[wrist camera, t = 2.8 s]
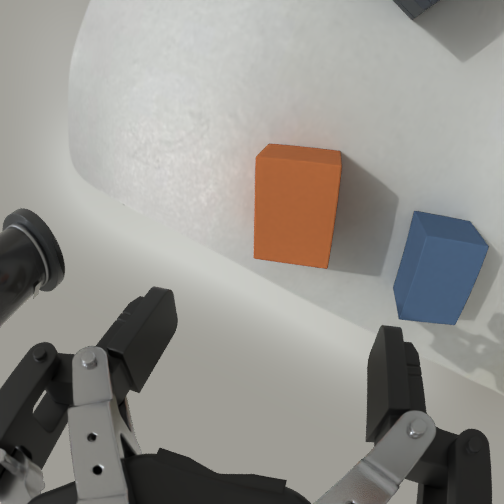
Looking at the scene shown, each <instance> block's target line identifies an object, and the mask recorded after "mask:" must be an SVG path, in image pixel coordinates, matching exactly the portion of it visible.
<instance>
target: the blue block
mask: <svg viewBox="0 0 504 504" xmlns="http://www.w3.org/2000/svg"><path fill="white" fill-rule="evenodd" d="M488 248H489V246H488V245H487V244H486V242H485V241H484V239H483V238H482V237H481V235H480V234H479V233H478V231H477V230H476V229H475V227H474V226H473V225H472V223H471V222H470V221H465V220H461V219H456V218H451V217H445V216H440V215H435V214H430V213H424V212H419V211H414V214H413V218H412V222H411V226H410V230H409V234H408V238H407V242H406V246H405V249H404V253H403V256H402V260H401V263H400V267H399V270H398V274H397V277H396V280H395V283H394V287H393V289H394V294H395V300H396V305H397V311H398V317H399V319H401V320H410V321H419V322H429V323H439V324H449V325H455V324H456V322H457V320H458V318H459V316H460V314H461V312H462V310H463V308H464V306H465V304H466V301H467V299H468V297H469V295H470V293H471V290H472V288H473V286H474V283H475V281H476V279H477V276H478V274H479V271H480V269H481V266H482V264H483V261H484V258H485V256H486V253H487V250H488Z"/></svg>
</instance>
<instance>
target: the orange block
mask: <svg viewBox="0 0 504 504" xmlns="http://www.w3.org/2000/svg"><path fill="white" fill-rule="evenodd" d="M341 170H342V163H341V152H340V151H335V150H327V149H319V148H310V147H300V146H290V145H279V144H268V145H267V146H266V147H265V148H264V149H263V150H262V151H261V152H260V153H259V154H258V155H257V156H256V167H255V217H254V258H255V259H261V260H268V261H275V262H282V263H289V264H296V265H303V266H311V267H318V268H325V269H327V268H328V263H329V257H330V251H331V244H332V238H333V231H334V224H335V217H336V210H337V203H338V195H339V187H340V179H341Z"/></svg>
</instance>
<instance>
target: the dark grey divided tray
mask: <svg viewBox="0 0 504 504" xmlns="http://www.w3.org/2000/svg"><path fill="white" fill-rule="evenodd" d="M393 1H394V2H395V3H396V4H397V5H398V6H399V7H400V8H401V9H402V10H403V11H404V12H405V13H406V14H407V15H408V16H409V17H410V19H412V20H413V19H414V18H415V17H417V16H418V15H420V14H421V13H422V12H424V11H425V10H427V9H428V8H430V7H431V6H432V5H434V4H435V3H437V2H438V1H440V0H393Z"/></svg>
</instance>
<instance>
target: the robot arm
mask: <svg viewBox="0 0 504 504" xmlns="http://www.w3.org/2000/svg"><path fill="white" fill-rule="evenodd" d="M49 279H50V265H49V262H48V259H47V256H46V254H45V252H44V250H43V248H42V246H41V244H40V243H39V241H38V240H37V238H36V237H35V236H34V234H33V233H32V232H31V231H30V230H29V229H28V228H26V227H25V226H23V225H22V224H19V223H13V224H11V225H10V226H8V227H7V228H6V229H5V230H4V231H2V232H1V233H0V327H1V326H2V325H3V324H4V323H5V322H6V321H7V320H8V319H9V318H10V317H11V316H12V315H13V314H14V313H15V312H16V311H17V310H18V309H19V308H20V307H21V306H22V305H23V304H24V303H25V302H26V301H27V300H28V299H29V298H30V297H31V296H32V295H33V294H34V296H33V298H34V297H36V296H37V295H38V293H39V289H40V288H41V287H43V286H44V285H45V284H46V283H47V282H48V281H49ZM177 322H178V319H177V313H176V307H175V301H174V295H173V292H172V290H169V289H164V288H159V287H152V288H151V289H150V290H149V292H148V293H147V294H146V295H145V297H141V296H140V297H138V298H137V299H135V300H134V301H132V302H130V303H129V304H128V306H127V307H126V308H125V310H124V311H123V313H121V314H120V316H119V317H118V318H117V321H115V322H114V323H113V325H112V326H111V327H110V328H109V330H108V331H107V332H106V334H105V335H104V336H103V338H102V339H101V340H100V341H99V343H98V344H97V345H96V346H88V347H85V348H83V349H81V350H79V351H78V352H77V353H76V354H75V355H74V354H62V353H58V352H57V350H56V349H55V347H54V346H53V345H52V344H51V343H47V342H43V343H39V344H36V345H35V346H33V347H32V348H31V349H30V350H29V351H28V352H27V354H26V355H25V356H24V358H23V359H22V360H21V362H20V363H19V364H18V366H17V367H16V368H15V370H14V371H13V372H12V374H11V375H10V376H9V378H8V379H7V380H6V382H5V383H4V385H3V386H2V388H1V389H0V504H311V503H310V502H309V501H308V500H307V499H306V498H305V497H303V496H302V495H300V494H299V493H298V492H296V491H294V490H292V489H290V488H287V487H285V485H286V480H282V479H277V478H271V477H265V476H259V475H255V474H219V473H216V472H213V471H212V470H210V469H208V468H206V467H205V466H203V465H201V464H199V463H197V462H196V461H194V460H192V459H191V458H189V457H186V456H183V455H180V454H177V453H174V452H171V451H168V450H165V449H162V448H159V450H158V452H157V454H142V452H141V449H140V446H139V444H138V442H137V439H136V436H135V432H134V428H133V424H132V420H131V415H130V410H129V405H128V400H127V397H126V395H127V393H128V392H129V390H132V391H135V392H138V393H140V391H141V389H142V388H143V386H144V384H145V383H146V381H147V379H148V377H149V376H150V374H151V372H152V371H153V369H154V367H155V365H156V364H157V362H158V360H159V359H160V357H161V355H162V354H163V352H164V350H165V348H166V347H167V345H168V343H169V342H170V340H171V338H172V337H173V335H174V333H175V331H176V328H177ZM367 372H368V373H367V375H368V376H367V377H368V378H367V381H368V382H367V425H366V442H374V448H373V449H372V450H371V451H370V452H369V453H368V454H367V455H366V456H365V457H364V458H363V459H361V460H360V461H359V462H358V463H357V464H356V465H355V466H354V467H353V468H352V469H351V470H350V471H349V472H348V473H347V474H346V475H345V476H344V477H343V478H342V479H341V480H339V482H338V483H336V484H335V485H334V486H333V487H332V488H331V489H330V490H329V491H327V492H326V493H325V494H324V495H323V496H322V497H321V498H319V499H318V500H317V501H316V502H315V503H313V504H386V503H387V502H388V501H389V500H390V499H391V497H392V496H393V495H394V494H395V493H396V492H397V490H398V489H399V485H400V483H401V482H402V481H403V480H404V479H408V480H411V481H414V482H417V483H418V494H417V504H492V481H491V462H490V450H489V442H488V440H487V438H486V436H485V435H484V434H483V433H482V432H481V431H479V430H476V429H467V430H465V431H463V432H462V433H461V434H460V435H457V434H454V433H450V432H447V431H444V430H442V429H439V428H438V427H436V426H435V423H434V421H433V420H432V418H431V417H430V416H429V415H428V414H427V413H426V406H425V397H424V389H423V381H422V377H421V367H420V361H419V355H418V352H417V350H416V349H415V347H414V346H413V344H412V343H411V342H404V341H403V334H402V329H401V328H400V327H393V326H384V325H382V326H381V327H380V329H379V331H378V334H377V337H376V339H375V342H374V345H373V347H372V349H371V352H370V355H369V359H368V367H367ZM44 390H46V392H47V393H46V394H45V395H44V397H43V399H42V400H41V402H40V403H39V405H38V407H37V408H36V410H35V411H34V413H33V407H34V405H35V404H36V402H37V401H38V399H39V398H40V396H41V395H42V393H43V391H44ZM67 423H68V426H69V437H70V446H71V455H72V462H73V469H74V476H75V481H74V482H71V483H69V484H66V485H64V486H61V487H59V488H56V489H53V490H50V491H48V492H45V493H42V494H41V491H42V490H43V489H44V488H45V483H44V481H43V473H42V471H41V470H42V468H43V466H44V465H45V463H46V460H47V459H48V457H49V455H50V453H51V451H52V450H53V448H54V446H55V444H56V442H57V440H58V439H59V437H60V435H61V433H62V431H63V430H64V428H65V426H66V424H67Z"/></svg>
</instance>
